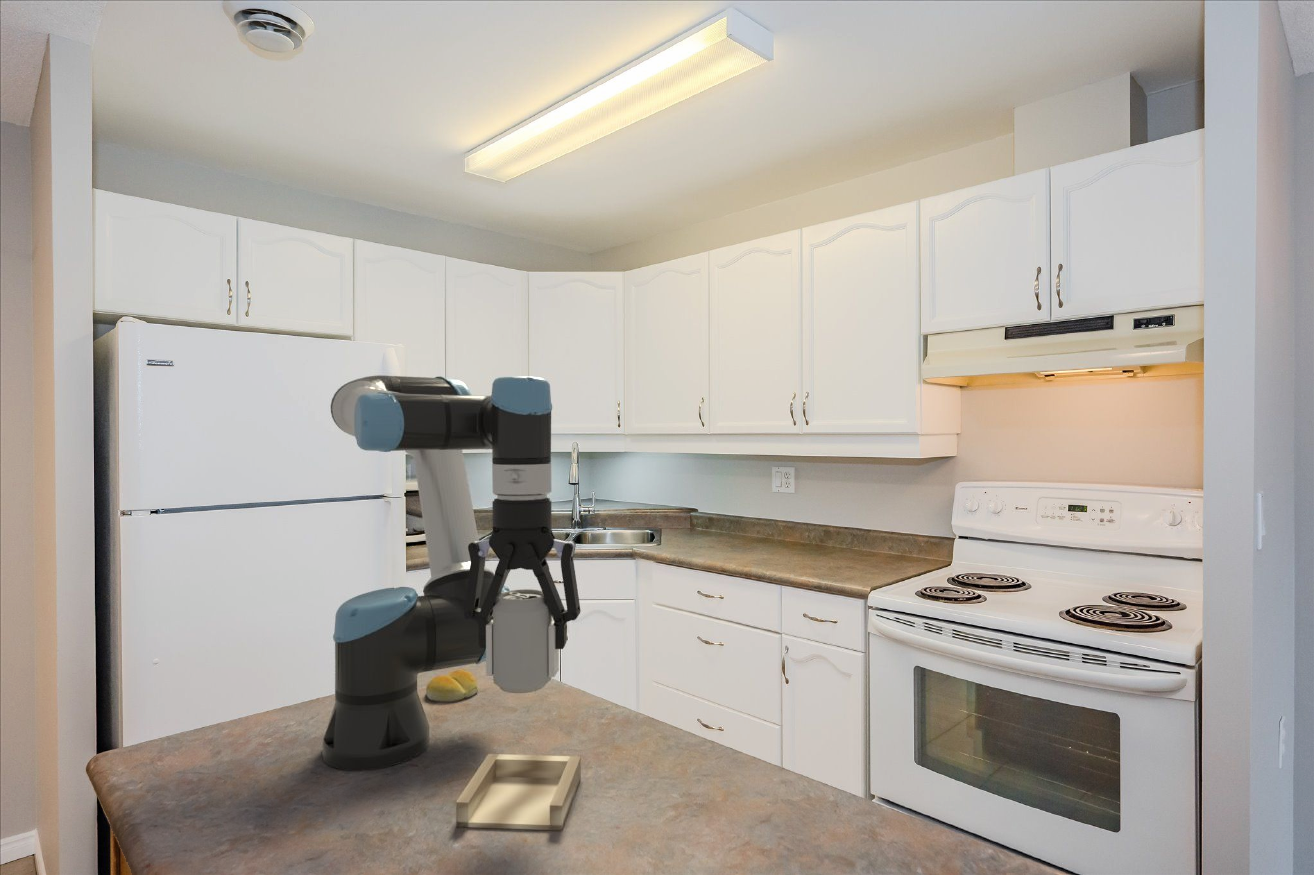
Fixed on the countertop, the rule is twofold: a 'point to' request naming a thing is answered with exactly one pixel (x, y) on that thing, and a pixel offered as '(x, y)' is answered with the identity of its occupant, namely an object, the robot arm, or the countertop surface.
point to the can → (521, 641)
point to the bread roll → (452, 686)
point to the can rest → (520, 792)
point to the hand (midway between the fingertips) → (522, 672)
